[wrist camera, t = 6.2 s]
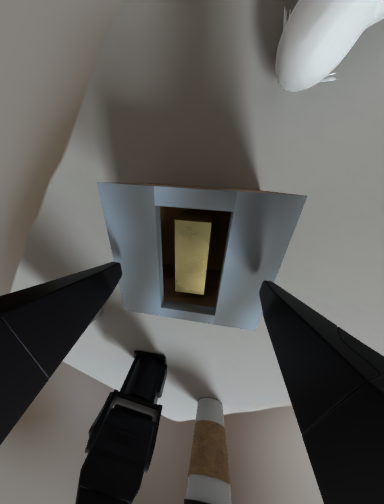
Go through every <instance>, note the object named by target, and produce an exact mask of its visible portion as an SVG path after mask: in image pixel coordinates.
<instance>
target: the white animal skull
mask: <svg viewBox="0 0 384 504" xmlns="http://www.w3.org/2000/svg"><path fill="white" fill-rule="evenodd" d="M290 12H291V9H290ZM285 15H286V16H285ZM382 19H384V0H299V1H298V2H297V4H296V5H295V7H294V9H293V11H292V13H291V14H290V13H289V18H288V21H287V10H286V14H285V7H284V21H283V32H282V35H281V38H280V41H279V44H278V49H277V54H276V66H275V73H276V77H277V80H278V83H279V85H280V87H281V88H283V89H284V90H287V91H289V92H296V91H301V90H306V89H308V88H310V87H312V86H314V85H315V84H317V83H318V82H326V81H332V80H336V79H333V77H332V78H331V77H330V78H325V77H326V76H330V75H333V74H336V73H331V74H329V73H330V72H331V71H332V70H333V69H334V68H335V67H336V66H337V65H338V64H339V63H340V62H341V61H342V59H343V58H344V57H345V56H346V54H347V53H348V52H349V51H350V49H351V48H352V46H353V45H354V44H355V42H356V41H357V39H358V38H359V37H360V35H361V34H362V32H363V31H364V30H365V29H366V28H368V27H370V26H371V25H373V24H375V23H377V22H379V21H380V20H382ZM334 78H335V77H334ZM340 79H341V78H340Z"/></svg>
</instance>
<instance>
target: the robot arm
mask: <svg viewBox="0 0 384 504" xmlns="http://www.w3.org/2000/svg"><path fill="white" fill-rule="evenodd" d="M121 277H122V268H121V264H120V263H119V262H111V263H108V264H104V265H101V266H98V267H95V268H91V269H88V270H85V271H82V272H78V273H75V274H72V275H69V276H65V277H62V278H59V279H56V280H53V281H49V282H46V283H44V284H39V285H36V286H33V287H30V288H26V289H23V290H20V291H16V292H13V293H9V294H6V295H2V296H0V445H1V443H2V442H3V441H4V439H5V438H6V437H7V435H8V434H9V433H10V431H11V430H12V428H13V427H14V426H15V424H16V423H17V422H18V420H19V419H20V418H21V416H22V415H23V414H24V412H25V411H26V410H27V408H28V407H29V405H30V404H31V403H32V401H33V400H34V399H35V397H36V396H37V395H38V393H39V392H40V390H41V389H42V388H43V387H44V385H45V384H46V382H47V381H48V378H50V377H51V375H52V374H53V373H54V371H55V370H56V369H57V367H58V366H59V365H60V363H61V362H62V361H63V359H64V358H65V357H66V355H67V354H68V352H69V351H70V350H71V348H72V347H73V346H74V344H75V343H76V342H77V340H78V339H79V338H80V336H81V335H82V334H83V332H84V331H85V329H86V328H87V327H88V325H89V324H90V323H91V321H92V320H93V319H94V317H95V316H96V315H97V313H98V312H99V311H100V309H101V308H102V306H103V305H104V304H105V302H106V301H107V300H108V298H109V297H110V295H111V294H112V292H113V290H114V289H115V287H116V285H117V284H118V282H119V280H120V279H121ZM259 296H260V301H261V306H262V311H263V316H264V320H265V323H266V326H267V329H268V332H269V336H270V339H271V342H272V345H273V348H274V351H275V354H276V357H277V360H278V363H279V366H280V369H281V372H282V376H283V379H284V382H285V385H286V388H287V391H288V394H289V397H290V400H291V403H292V406H293V409H294V412H295V415H296V418H297V422H298V425H299V428H300V431H301V433H302V437H303V441H304V444H305V447H306V450H307V453H308V456H309V459H310V462H311V465H312V468H313V471H314V474H315V477H316V480H317V484H318V486H319V490H320V493H321V495H322V499H323V502H324V504H384V356H382V355H381V354H379V353H378V352H376V351H374V350H373V349H371V348H370V347H368V346H367V345H365V344H363V343H362V342H360V341H359V340H357V339H356V338H354V337H353V336H351V335H350V334H348V333H347V332H345V331H344V330H343V329H341V328H340V327H337V326H336V325H335V324H334V323H332V322H331V321H329V320H328V319H326V318H325V317H323V316H322V315H320V314H319V313H317V312H316V311H315V310H313V309H312V308H310V307H309V306H307V305H306V304H304V303H303V302H301V301H300V300H298V299H297V298H295V297H294V296H292V295H291V294H290V293H288V292H287V291H285V290H284V289H282V288H281V287H279V286H278V285H276V284H275V283H273V282H272V281H267V280H264V281H263V282H262V285H261V288H260V291H259ZM134 358H135V359H134V361H133V363H132V366H131V368H130V370H129V372H128V375H127V377H126V379H125V381H124V383H123V386H122V388H121V390H120V392H119V391H118V390H114V392H110V394H109V396H108V398H107V400H106V402H105V404H104V406H103V408H102V409H101V411H100V413H99V414H98V416H97V418H96V420H95V421H94V423H93V425H92V426H91V428H90V430H89V440H88V444H87V447H86V450H85V453H88V455H87V458H86V459H85V462H84V464H83V466H82V468H81V472H80V477H79V483H78V490H77V496H76V503H75V504H131V503H132V501H133V500H134V498H135V496H136V494H137V493H138V490H139V488H140V485H141V481H142V477H143V473H144V472H147V471H148V469H149V466H150V462H151V459H152V455H153V451H154V447H155V442H156V436H157V431H158V426H159V421H160V416H161V411H162V405H160V404H159V405H157V404H156V403H157V399H158V398H160V397H161V396H162V392H163V388H164V384H165V380H166V376H167V365H166V358H165V356H161V355H156V354H150V353H145V352H140V351H135V352H134ZM113 406H115V407H114V408H113Z"/></svg>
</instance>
